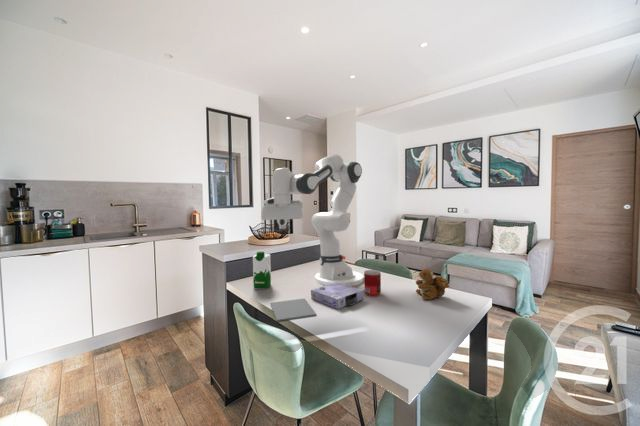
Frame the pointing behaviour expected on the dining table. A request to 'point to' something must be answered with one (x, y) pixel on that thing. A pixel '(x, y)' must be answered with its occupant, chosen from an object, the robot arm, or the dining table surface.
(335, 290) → the cake pan box
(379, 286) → the canned food
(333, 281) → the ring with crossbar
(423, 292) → the stuffed squirrel
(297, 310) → the mat
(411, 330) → the dining table surface
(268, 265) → the milk carton
